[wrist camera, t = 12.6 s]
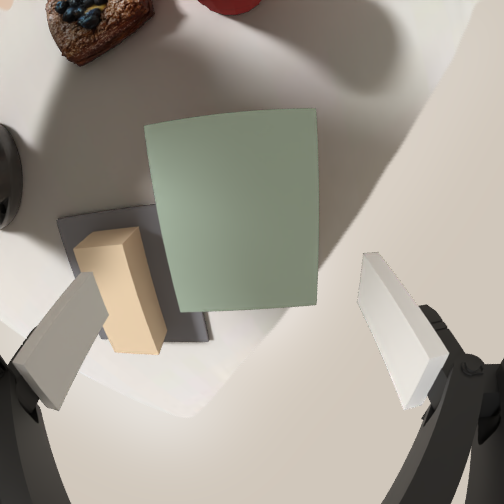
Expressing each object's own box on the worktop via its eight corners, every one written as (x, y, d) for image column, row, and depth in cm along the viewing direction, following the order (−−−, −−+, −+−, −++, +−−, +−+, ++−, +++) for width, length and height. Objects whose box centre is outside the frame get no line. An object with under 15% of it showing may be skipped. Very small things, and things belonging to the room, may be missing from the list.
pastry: (81, 78, 22) (48, 76, 17) (51, 11, 18) (21, 2, 12) (168, 17, 20) (149, -2, 15) (128, -47, 15) (107, -68, 10)
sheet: (183, 304, 26) (180, 312, 25) (149, 125, 19) (143, 125, 18) (314, 297, 26) (316, 304, 25) (312, 108, 19) (315, 108, 18)
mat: (102, 336, 37) (89, 360, 32) (59, 218, 29) (35, 235, 24) (208, 338, 36) (203, 367, 32) (181, 201, 28) (168, 218, 24)
